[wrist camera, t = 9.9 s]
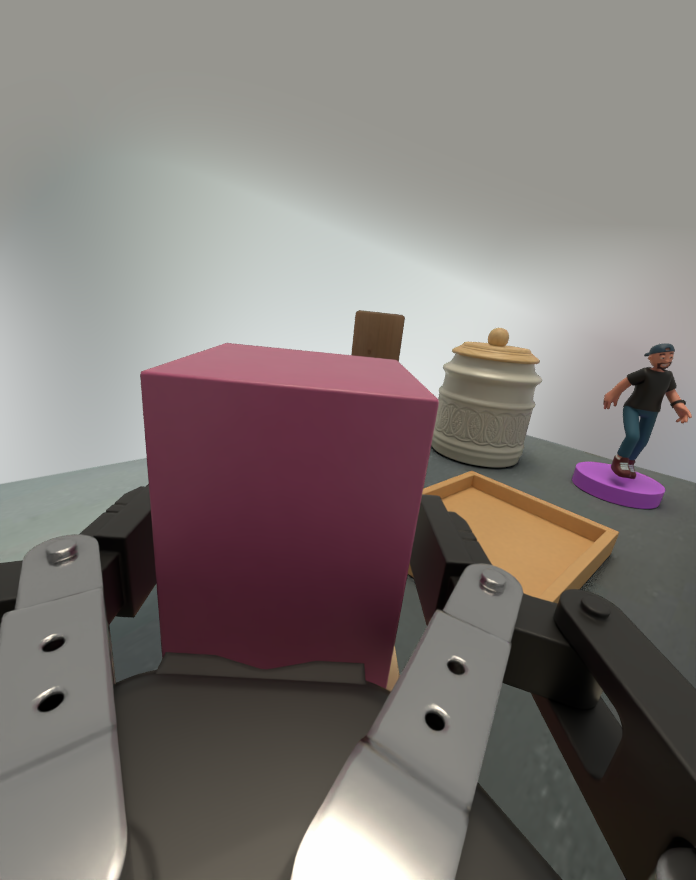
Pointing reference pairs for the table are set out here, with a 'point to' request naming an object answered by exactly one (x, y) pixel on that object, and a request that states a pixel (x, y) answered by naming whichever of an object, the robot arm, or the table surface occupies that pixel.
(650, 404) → the figurine
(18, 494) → the table surface
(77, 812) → the robot arm
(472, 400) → the jar
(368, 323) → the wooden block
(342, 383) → the mulberry block
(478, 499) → the oak tray
